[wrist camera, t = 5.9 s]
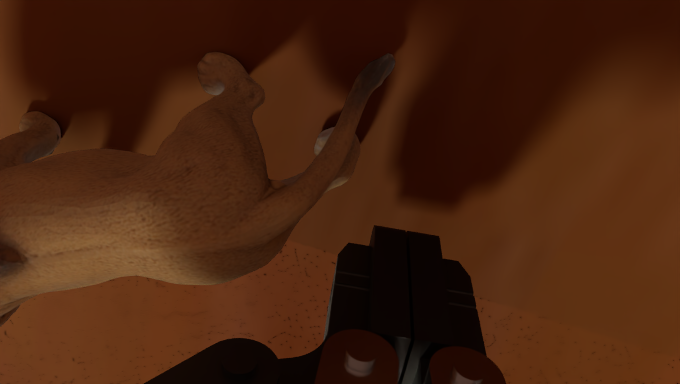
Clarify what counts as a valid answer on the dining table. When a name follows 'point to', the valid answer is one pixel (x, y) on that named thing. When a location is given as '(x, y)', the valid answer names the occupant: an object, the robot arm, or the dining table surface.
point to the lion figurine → (163, 194)
